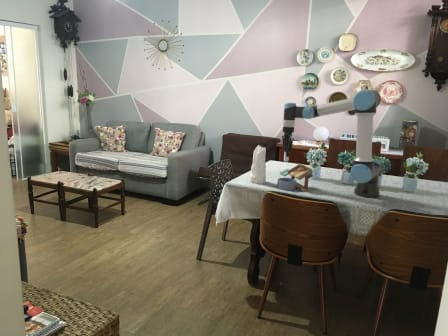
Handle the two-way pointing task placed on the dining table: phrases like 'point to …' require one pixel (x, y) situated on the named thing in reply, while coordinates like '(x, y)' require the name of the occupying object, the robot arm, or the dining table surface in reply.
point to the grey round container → (286, 183)
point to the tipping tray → (298, 172)
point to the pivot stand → (301, 187)
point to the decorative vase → (258, 166)
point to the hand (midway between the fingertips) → (286, 161)
